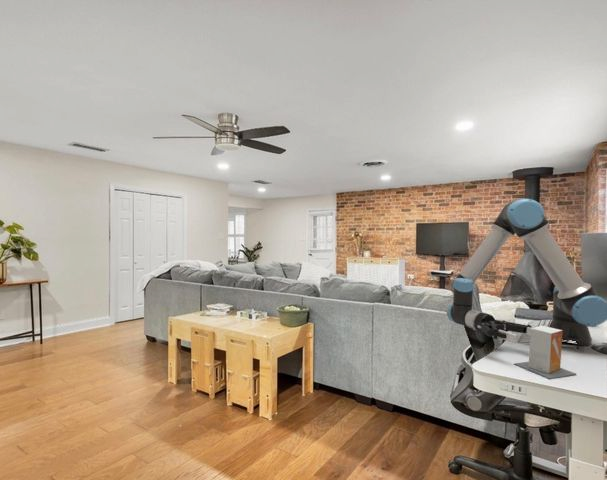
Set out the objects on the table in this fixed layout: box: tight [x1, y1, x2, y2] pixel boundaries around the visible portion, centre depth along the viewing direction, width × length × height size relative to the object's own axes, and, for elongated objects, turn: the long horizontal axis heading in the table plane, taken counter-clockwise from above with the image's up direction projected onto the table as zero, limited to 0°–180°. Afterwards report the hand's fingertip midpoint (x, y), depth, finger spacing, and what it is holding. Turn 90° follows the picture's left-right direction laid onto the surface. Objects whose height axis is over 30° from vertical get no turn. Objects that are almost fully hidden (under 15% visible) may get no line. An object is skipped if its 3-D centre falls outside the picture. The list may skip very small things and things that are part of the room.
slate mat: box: [514, 361, 577, 380], centre depth 115 cm, size 12×12×1 cm
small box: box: [528, 325, 563, 373], centre depth 115 cm, size 8×6×13 cm
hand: (530, 337), depth 119 cm, fingers open, 13 cm apart
